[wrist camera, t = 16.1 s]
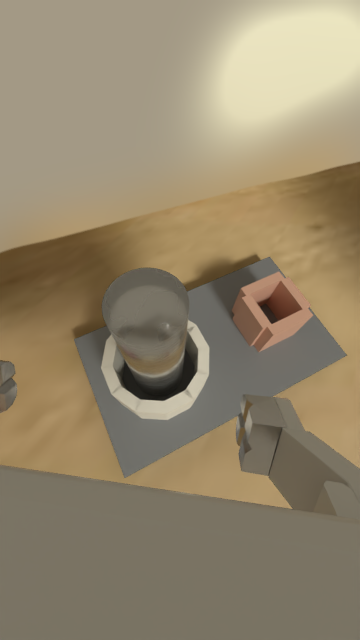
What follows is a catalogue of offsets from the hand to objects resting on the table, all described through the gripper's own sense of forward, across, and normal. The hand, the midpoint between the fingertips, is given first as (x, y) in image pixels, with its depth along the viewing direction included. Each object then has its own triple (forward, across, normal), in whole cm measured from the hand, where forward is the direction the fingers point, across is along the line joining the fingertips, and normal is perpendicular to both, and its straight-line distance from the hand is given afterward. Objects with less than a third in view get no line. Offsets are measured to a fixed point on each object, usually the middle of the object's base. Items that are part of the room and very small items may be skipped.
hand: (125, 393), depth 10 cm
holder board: (+15, -4, +5) cm, 17 cm away
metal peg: (+12, 0, +6) cm, 14 cm away
